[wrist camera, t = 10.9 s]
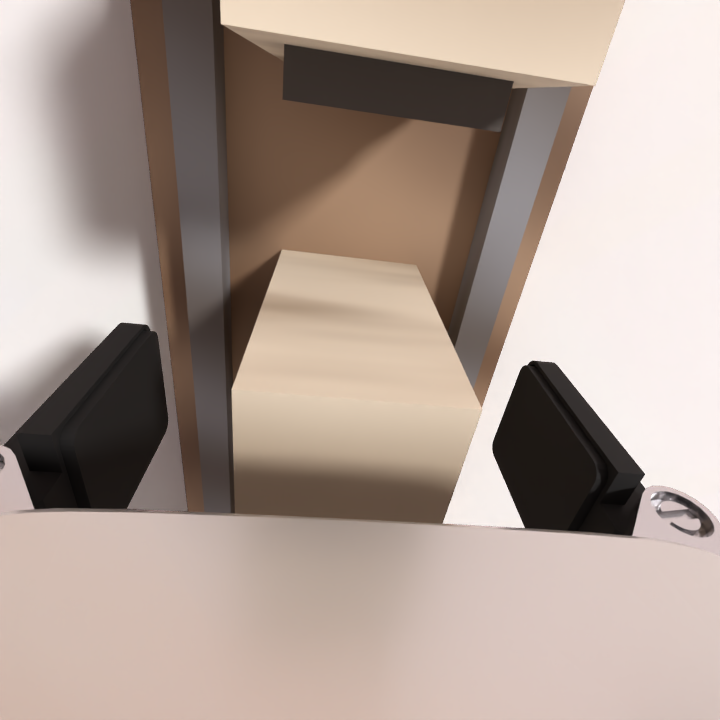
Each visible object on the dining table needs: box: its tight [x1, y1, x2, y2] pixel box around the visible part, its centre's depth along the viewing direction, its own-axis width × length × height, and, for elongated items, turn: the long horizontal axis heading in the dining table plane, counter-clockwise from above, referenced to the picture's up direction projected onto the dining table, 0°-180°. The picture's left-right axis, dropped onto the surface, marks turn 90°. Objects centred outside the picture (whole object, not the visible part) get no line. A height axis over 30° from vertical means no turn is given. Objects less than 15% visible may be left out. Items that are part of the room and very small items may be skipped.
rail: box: [130, 0, 625, 514], centre depth 12 cm, size 26×11×8 cm, turn 173°
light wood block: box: [232, 250, 482, 524], centre depth 11 cm, size 6×4×7 cm
